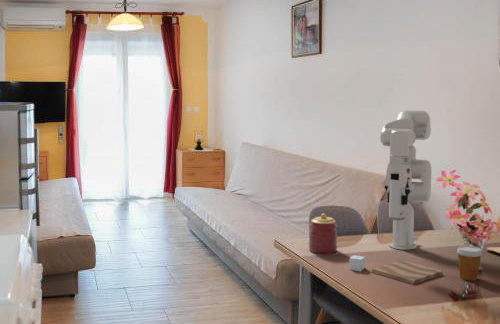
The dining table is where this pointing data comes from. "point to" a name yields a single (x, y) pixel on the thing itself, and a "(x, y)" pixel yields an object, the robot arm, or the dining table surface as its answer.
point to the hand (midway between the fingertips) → (397, 203)
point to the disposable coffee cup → (469, 262)
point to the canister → (323, 235)
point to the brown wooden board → (407, 272)
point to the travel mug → (395, 199)
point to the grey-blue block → (356, 263)
